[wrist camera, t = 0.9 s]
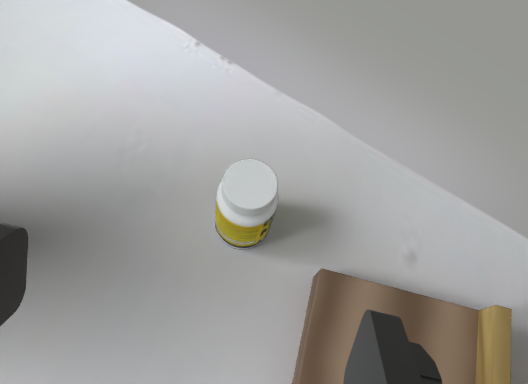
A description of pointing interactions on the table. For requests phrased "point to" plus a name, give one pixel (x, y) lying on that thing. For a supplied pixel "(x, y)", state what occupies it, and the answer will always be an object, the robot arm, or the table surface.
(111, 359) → the table surface
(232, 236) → the supplement bottle
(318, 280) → the dock
